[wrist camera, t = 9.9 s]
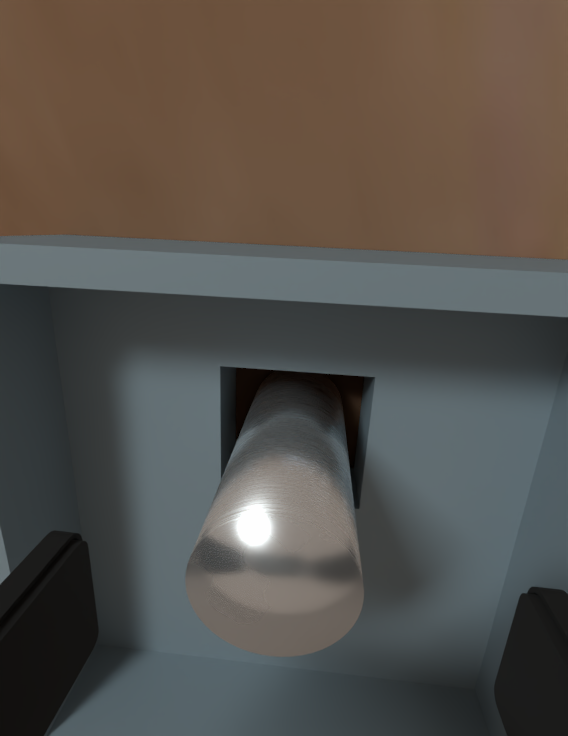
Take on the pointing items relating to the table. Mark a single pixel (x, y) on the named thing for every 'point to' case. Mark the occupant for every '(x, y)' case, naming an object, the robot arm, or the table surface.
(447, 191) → the table surface
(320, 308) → the open box
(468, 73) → the table surface
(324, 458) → the peg
